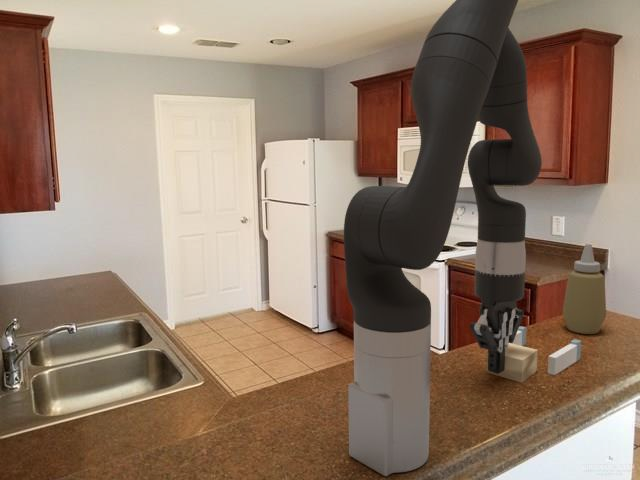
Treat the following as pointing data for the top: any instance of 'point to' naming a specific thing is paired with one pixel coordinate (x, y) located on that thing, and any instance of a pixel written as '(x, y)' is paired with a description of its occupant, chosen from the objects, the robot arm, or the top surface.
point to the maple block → (518, 363)
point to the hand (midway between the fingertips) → (496, 371)
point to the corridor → (557, 359)
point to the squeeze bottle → (585, 295)
